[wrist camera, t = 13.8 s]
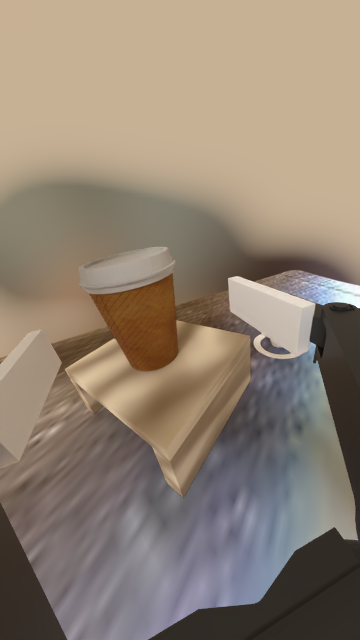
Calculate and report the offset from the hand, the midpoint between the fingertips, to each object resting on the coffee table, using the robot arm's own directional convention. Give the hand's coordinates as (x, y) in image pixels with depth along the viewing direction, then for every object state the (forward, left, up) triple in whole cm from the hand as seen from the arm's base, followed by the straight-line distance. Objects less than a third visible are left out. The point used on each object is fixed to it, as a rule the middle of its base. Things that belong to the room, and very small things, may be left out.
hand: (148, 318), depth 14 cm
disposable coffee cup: (-6, +4, -9) cm, 12 cm away
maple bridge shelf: (-6, +5, -16) cm, 18 cm away
